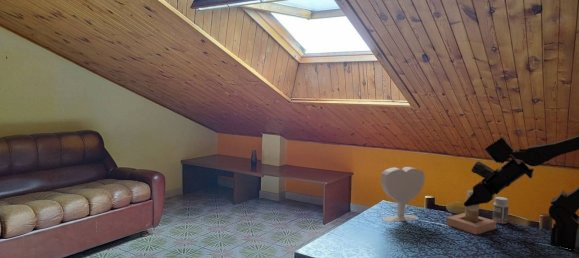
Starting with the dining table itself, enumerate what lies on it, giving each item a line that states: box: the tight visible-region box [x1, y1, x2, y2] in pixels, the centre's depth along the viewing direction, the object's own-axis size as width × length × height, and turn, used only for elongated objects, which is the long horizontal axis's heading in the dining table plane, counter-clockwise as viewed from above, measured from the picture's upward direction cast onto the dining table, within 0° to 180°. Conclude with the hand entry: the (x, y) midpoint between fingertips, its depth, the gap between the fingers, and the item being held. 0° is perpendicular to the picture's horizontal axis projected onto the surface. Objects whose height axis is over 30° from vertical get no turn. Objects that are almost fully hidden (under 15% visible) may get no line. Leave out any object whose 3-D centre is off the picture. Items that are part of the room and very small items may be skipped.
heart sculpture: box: [380, 166, 426, 223], centre depth 146 cm, size 16×5×18 cm, turn 109°
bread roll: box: [445, 200, 466, 215], centre depth 157 cm, size 8×9×4 cm
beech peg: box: [465, 189, 480, 223], centre depth 139 cm, size 4×4×12 cm
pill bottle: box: [491, 196, 509, 224], centre depth 146 cm, size 5×5×8 cm
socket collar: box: [446, 213, 497, 235], centre depth 140 cm, size 11×11×2 cm
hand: (468, 202), depth 140 cm, fingers open, 9 cm apart
